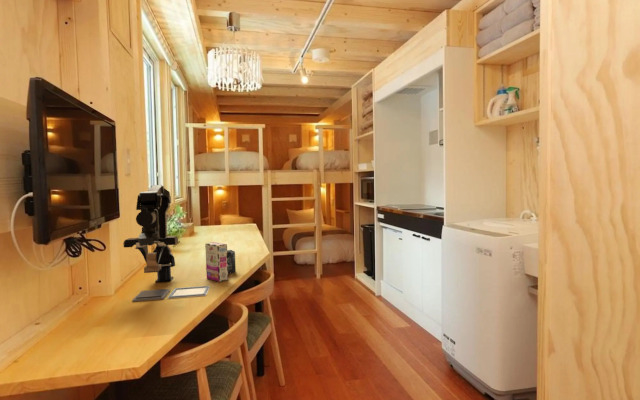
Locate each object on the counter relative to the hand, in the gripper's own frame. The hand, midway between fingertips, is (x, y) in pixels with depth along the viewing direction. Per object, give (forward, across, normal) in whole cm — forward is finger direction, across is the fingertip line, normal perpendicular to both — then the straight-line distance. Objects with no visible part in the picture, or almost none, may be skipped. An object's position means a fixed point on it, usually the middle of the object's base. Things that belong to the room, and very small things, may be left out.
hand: (152, 263), depth 143 cm
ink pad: (+13, -1, 0) cm, 13 cm away
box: (+13, +25, +30) cm, 41 cm away
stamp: (+3, 0, 0) cm, 3 cm away
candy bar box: (+13, +22, +19) cm, 32 cm away
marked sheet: (+13, +13, +1) cm, 18 cm away
